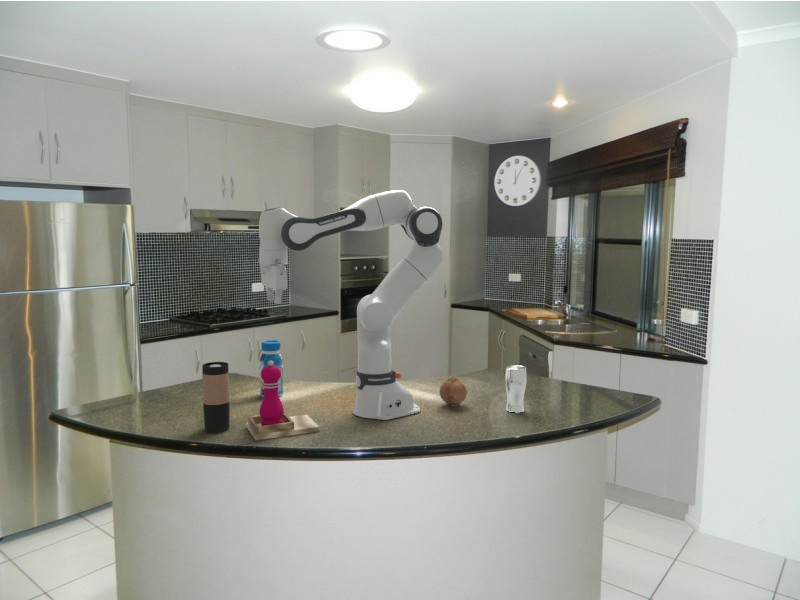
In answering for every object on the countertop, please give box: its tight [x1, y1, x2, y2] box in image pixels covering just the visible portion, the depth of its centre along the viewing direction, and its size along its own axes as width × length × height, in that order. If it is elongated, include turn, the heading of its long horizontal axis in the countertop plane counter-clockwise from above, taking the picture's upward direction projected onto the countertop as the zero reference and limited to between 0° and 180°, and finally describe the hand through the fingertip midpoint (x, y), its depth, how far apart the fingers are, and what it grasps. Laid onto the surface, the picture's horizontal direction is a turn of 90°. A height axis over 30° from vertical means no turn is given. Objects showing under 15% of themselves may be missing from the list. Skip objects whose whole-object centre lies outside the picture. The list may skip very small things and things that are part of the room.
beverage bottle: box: [259, 339, 284, 398], centre depth 213 cm, size 8×8×20 cm
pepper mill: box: [258, 360, 285, 426], centre depth 174 cm, size 7×7×20 cm
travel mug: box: [201, 361, 231, 434], centre depth 175 cm, size 8×8×20 cm
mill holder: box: [246, 411, 320, 441], centre depth 176 cm, size 19×13×4 cm
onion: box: [439, 376, 468, 407], centre depth 202 cm, size 10×9×10 cm
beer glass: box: [504, 364, 527, 414], centre depth 196 cm, size 7×7×15 cm
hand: (274, 302), depth 188 cm, fingers open, 8 cm apart
